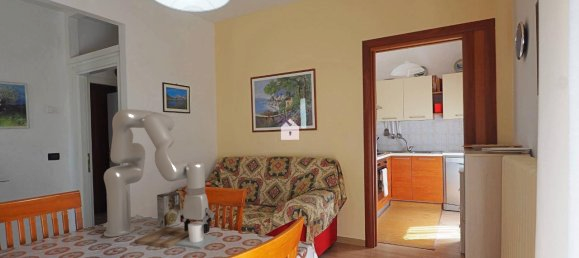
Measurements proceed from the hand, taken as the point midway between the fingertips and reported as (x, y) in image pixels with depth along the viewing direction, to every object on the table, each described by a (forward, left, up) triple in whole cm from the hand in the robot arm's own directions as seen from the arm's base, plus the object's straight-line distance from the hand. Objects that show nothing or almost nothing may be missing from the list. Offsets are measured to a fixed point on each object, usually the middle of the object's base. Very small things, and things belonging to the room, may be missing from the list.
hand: (196, 231), depth 124 cm
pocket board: (-16, 0, -4) cm, 17 cm away
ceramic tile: (0, 0, -4) cm, 4 cm away
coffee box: (-28, +15, -4) cm, 32 cm away
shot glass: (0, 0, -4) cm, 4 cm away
